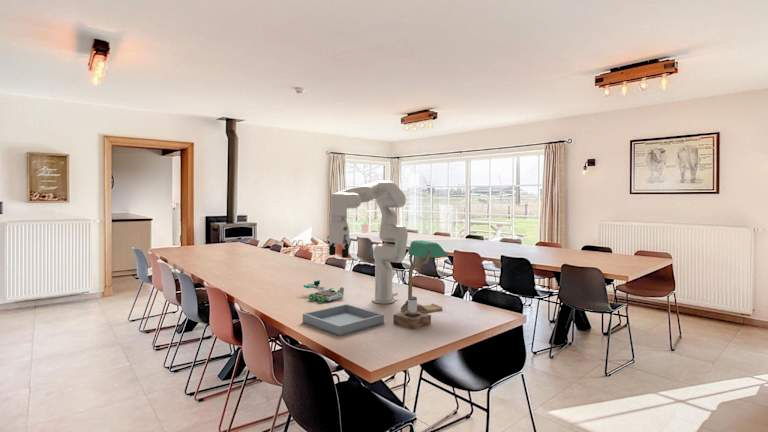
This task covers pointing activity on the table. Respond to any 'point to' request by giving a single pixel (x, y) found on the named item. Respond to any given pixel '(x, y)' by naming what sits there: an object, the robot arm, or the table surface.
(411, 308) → the pin
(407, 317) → the brown square hollow block
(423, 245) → the banker's lamp
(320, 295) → the robot kit
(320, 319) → the tray
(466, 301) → the table surface
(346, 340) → the table surface
